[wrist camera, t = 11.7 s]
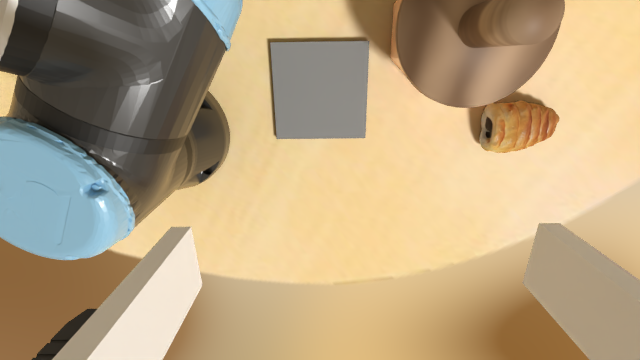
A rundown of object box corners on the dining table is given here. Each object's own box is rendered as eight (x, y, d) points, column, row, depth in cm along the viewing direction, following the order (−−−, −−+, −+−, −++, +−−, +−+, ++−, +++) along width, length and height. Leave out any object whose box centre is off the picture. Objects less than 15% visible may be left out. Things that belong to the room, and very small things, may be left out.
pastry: (553, 95, 40) (575, 99, 37) (544, 145, 43) (564, 153, 39) (479, 102, 41) (494, 107, 37) (475, 151, 43) (488, 160, 40)
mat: (277, 137, 43) (276, 138, 42) (271, 42, 38) (270, 42, 38) (364, 136, 43) (365, 138, 42) (368, 41, 38) (369, 40, 38)
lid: (390, 106, 35) (414, 125, 26) (402, -66, 29) (438, -125, 20) (533, 105, 35) (611, 123, 25) (574, -70, 29) (696, -132, 19)
